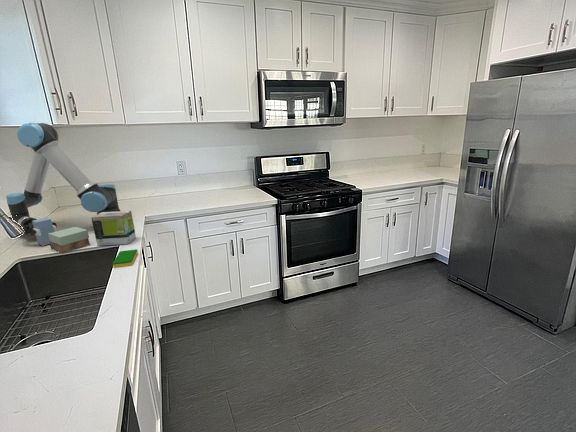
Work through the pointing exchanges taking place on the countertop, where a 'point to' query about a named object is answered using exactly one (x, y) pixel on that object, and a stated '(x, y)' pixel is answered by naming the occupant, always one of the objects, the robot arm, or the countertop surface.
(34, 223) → the blue block
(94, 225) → the tea box
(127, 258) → the dish sponge
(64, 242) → the tower top
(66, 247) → the block
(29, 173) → the robot arm
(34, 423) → the countertop surface
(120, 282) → the countertop surface
